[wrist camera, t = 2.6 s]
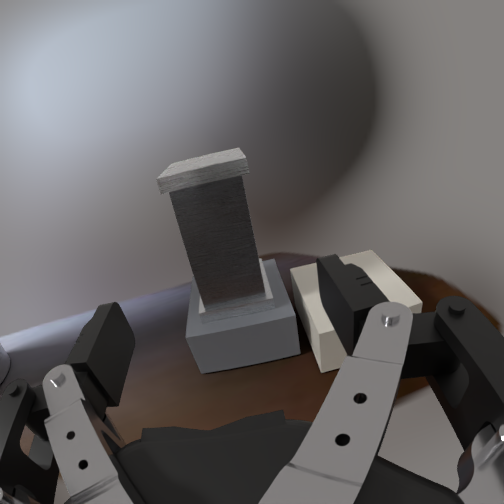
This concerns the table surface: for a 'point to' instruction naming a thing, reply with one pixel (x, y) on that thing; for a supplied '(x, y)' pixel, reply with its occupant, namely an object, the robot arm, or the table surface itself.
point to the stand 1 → (244, 331)
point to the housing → (218, 234)
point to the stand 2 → (315, 317)
